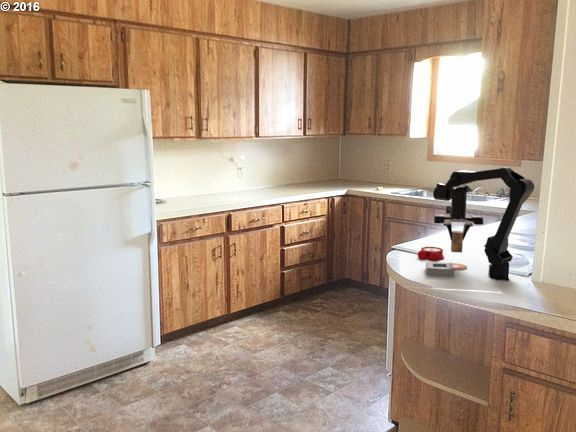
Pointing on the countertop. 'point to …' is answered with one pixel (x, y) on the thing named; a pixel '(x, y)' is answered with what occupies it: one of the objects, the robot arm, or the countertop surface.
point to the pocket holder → (439, 269)
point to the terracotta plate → (459, 266)
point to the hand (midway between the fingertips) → (456, 240)
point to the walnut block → (457, 241)
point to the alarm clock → (431, 253)
